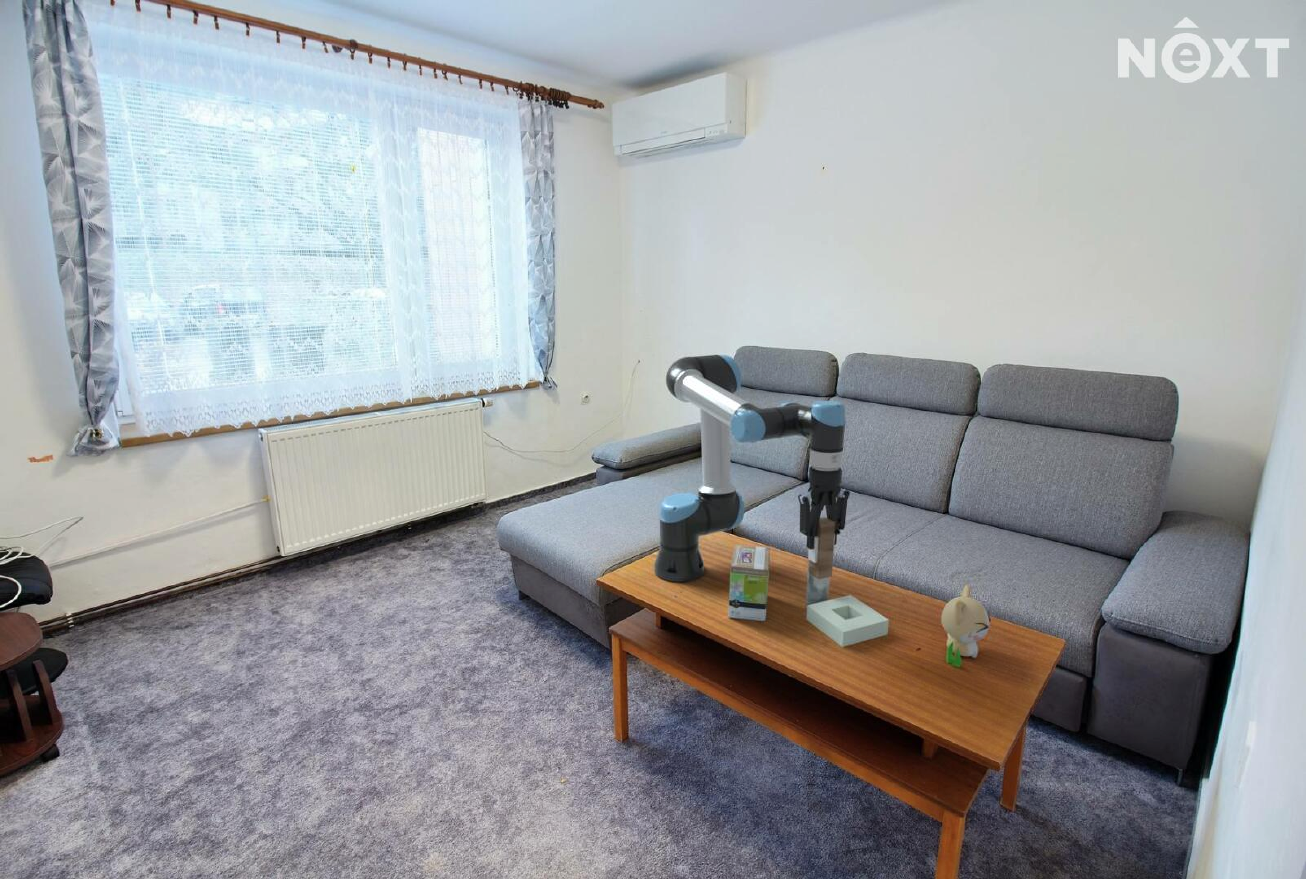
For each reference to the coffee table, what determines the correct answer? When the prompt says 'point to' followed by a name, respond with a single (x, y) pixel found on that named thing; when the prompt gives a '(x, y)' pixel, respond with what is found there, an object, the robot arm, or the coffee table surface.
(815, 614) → the socket block
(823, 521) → the square peg
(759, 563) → the tea box
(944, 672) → the coffee table surface
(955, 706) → the coffee table surface
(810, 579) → the round peg
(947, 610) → the kitten
